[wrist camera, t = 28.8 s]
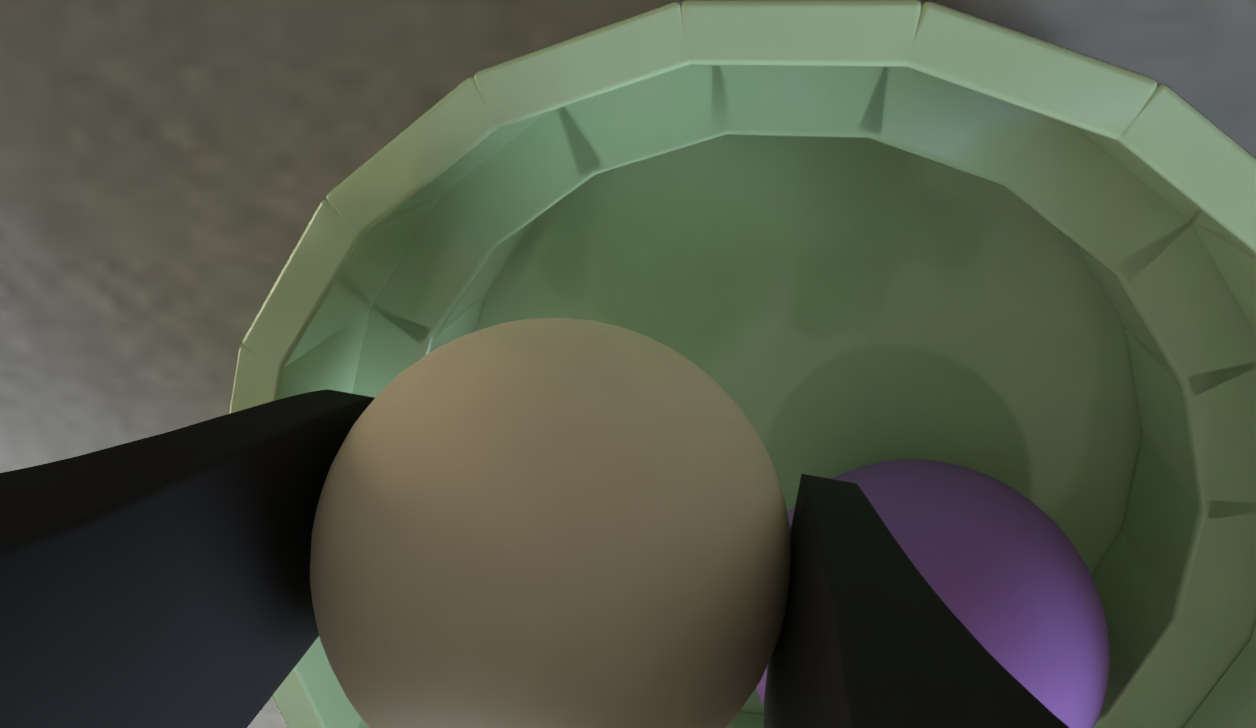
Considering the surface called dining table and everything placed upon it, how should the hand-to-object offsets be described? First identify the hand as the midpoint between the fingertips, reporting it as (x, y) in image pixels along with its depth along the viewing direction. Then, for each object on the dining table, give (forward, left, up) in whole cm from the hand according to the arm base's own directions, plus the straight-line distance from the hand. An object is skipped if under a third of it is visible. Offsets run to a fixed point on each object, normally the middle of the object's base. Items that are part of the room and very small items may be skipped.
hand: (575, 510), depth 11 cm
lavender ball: (0, +5, -3) cm, 6 cm away
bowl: (0, +3, -6) cm, 6 cm away
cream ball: (0, 0, +1) cm, 1 cm away
